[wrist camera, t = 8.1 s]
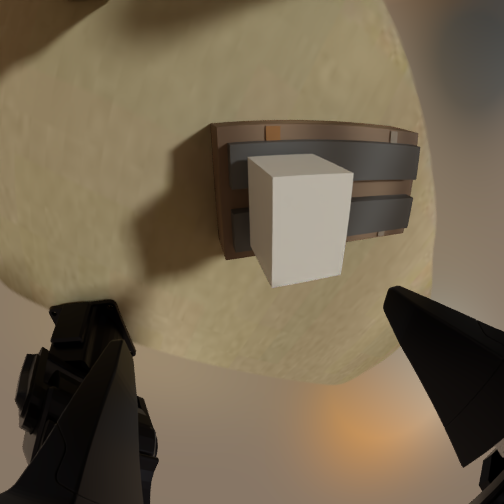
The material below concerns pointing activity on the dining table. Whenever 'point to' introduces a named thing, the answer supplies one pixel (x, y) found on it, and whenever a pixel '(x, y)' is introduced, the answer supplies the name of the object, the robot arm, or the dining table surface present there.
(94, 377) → the robot arm
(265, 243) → the block
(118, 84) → the dining table surface
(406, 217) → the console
